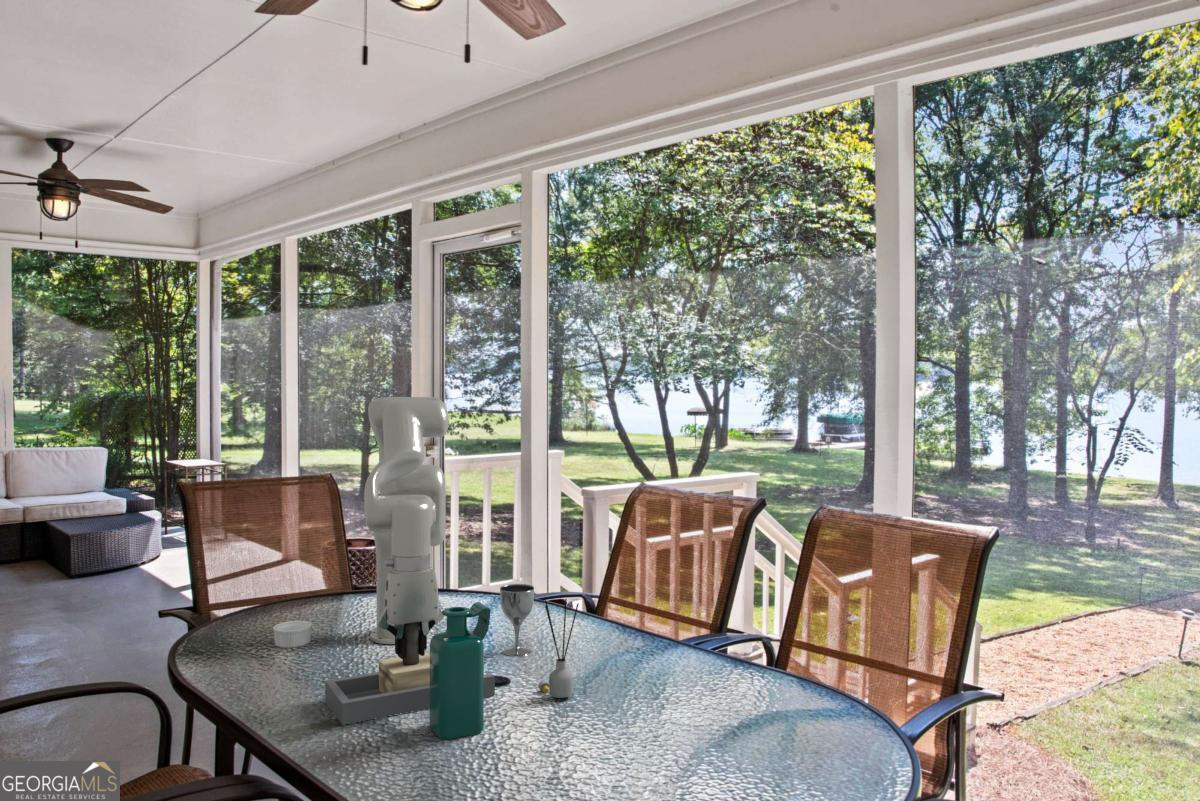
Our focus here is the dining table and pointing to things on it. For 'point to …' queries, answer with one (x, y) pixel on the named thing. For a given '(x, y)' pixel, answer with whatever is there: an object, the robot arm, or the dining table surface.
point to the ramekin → (292, 634)
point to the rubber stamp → (405, 665)
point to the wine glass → (517, 611)
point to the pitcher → (458, 674)
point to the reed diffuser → (559, 668)
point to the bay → (378, 698)
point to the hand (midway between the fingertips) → (410, 654)
